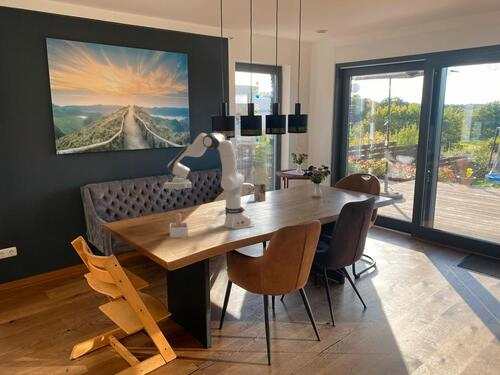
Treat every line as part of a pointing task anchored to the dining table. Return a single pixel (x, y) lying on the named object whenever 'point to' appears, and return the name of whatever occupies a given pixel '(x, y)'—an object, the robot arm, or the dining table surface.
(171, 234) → the open box
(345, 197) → the dining table surface
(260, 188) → the coffee box
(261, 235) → the dining table surface
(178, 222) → the peg
